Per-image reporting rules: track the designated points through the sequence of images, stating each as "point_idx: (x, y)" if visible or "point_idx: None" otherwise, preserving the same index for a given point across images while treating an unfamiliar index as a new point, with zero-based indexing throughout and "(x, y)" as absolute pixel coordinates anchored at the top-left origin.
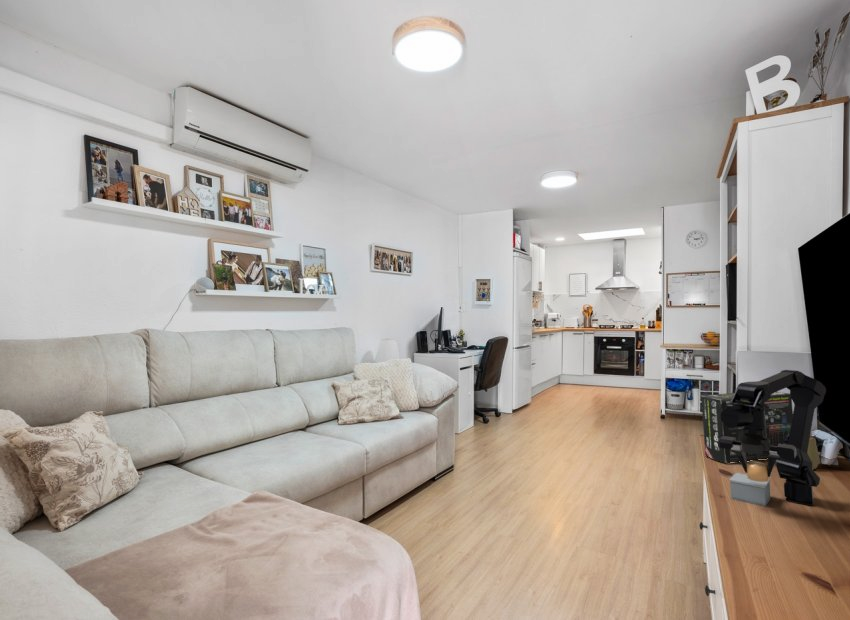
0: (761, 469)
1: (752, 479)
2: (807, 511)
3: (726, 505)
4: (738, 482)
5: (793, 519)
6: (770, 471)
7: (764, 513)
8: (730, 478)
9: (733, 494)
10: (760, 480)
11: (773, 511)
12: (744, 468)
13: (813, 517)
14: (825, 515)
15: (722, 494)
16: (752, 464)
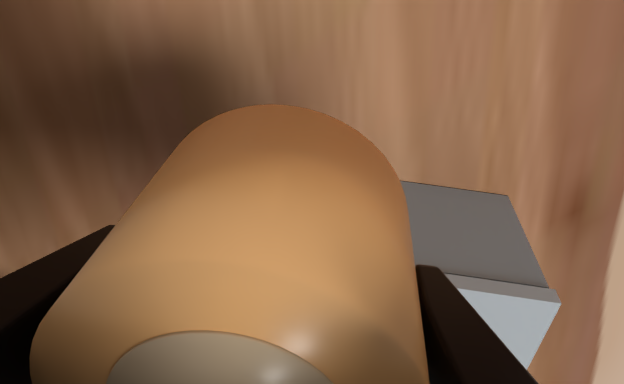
0: (129, 230)
1: (340, 127)
2: (86, 217)
3: (566, 24)
4: (478, 282)
5: (109, 17)
6: (28, 272)
7: (288, 18)
8: (545, 333)
9: (497, 215)
10: (230, 118)
11: (239, 103)
12: (460, 307)
13: (35, 136)
14: (4, 205)
15: (557, 248)
16: (304, 361)
